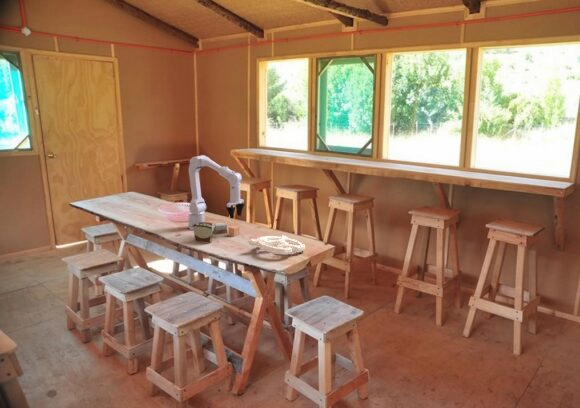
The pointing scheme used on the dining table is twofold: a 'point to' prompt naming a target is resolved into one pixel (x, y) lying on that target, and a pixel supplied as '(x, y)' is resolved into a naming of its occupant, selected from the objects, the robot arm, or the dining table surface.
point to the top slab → (220, 226)
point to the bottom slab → (220, 231)
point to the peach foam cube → (233, 231)
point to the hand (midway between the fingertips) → (235, 216)
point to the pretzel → (278, 244)
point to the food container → (203, 231)
